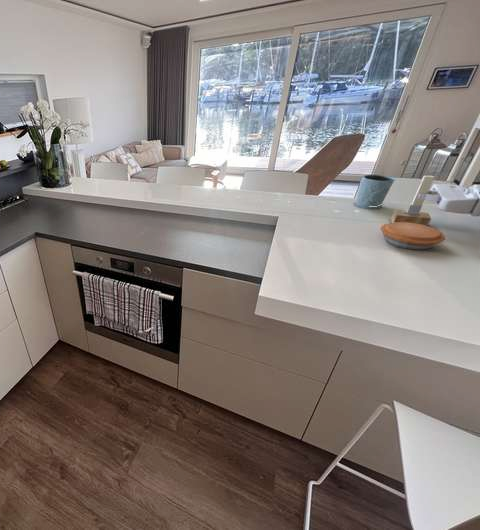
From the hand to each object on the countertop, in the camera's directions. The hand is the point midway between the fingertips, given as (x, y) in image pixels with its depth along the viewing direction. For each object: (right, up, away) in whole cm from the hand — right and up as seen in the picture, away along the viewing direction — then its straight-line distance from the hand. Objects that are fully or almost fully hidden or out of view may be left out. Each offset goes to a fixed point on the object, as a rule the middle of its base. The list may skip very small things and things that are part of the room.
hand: (417, 194), depth 100 cm
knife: (+2, -8, +4) cm, 10 cm away
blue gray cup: (+3, +1, +23) cm, 23 cm away
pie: (-10, -17, -6) cm, 20 cm away
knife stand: (+2, -10, +5) cm, 11 cm away
